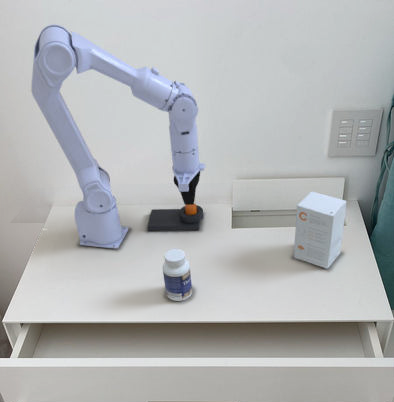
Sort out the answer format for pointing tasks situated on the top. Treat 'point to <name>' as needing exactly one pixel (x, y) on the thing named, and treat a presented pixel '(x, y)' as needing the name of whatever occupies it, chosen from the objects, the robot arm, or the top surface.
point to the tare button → (191, 209)
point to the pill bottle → (177, 275)
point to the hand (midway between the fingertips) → (189, 203)
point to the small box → (319, 229)
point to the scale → (174, 220)
